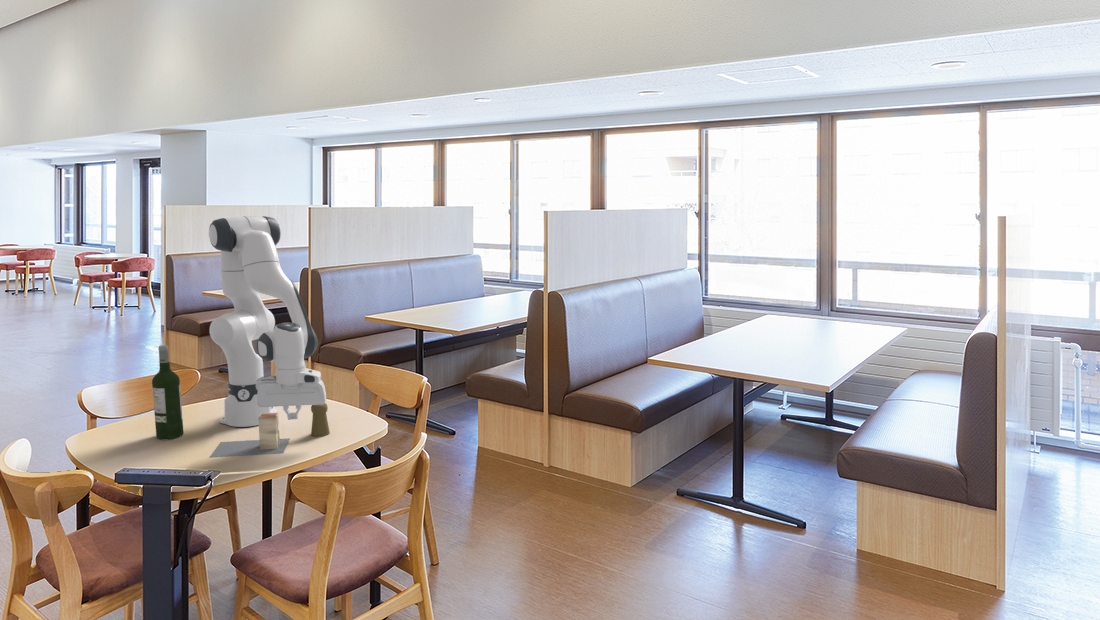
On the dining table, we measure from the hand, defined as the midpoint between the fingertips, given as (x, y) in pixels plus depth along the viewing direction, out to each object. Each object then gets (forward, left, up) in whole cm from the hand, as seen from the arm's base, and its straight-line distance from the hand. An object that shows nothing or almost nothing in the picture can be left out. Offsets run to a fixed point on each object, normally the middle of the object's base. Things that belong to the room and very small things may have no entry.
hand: (292, 419), depth 230 cm
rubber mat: (0, -13, -9) cm, 16 cm away
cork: (-10, +7, -9) cm, 15 cm away
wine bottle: (-18, -41, -9) cm, 46 cm away
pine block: (0, -7, -8) cm, 11 cm away
